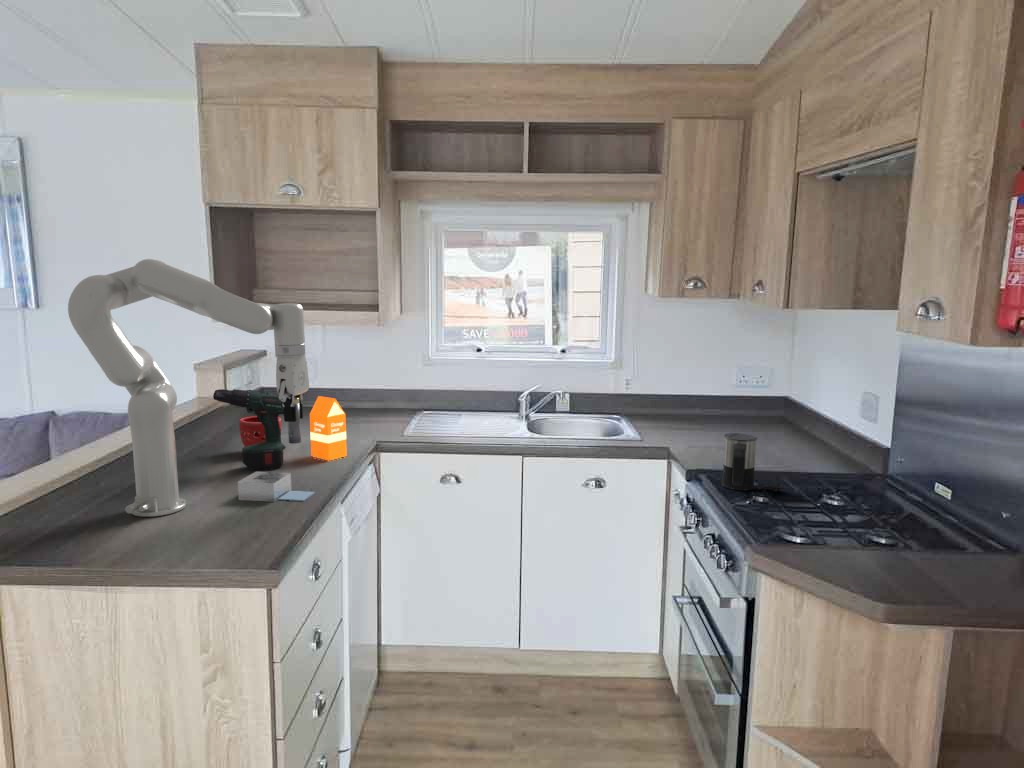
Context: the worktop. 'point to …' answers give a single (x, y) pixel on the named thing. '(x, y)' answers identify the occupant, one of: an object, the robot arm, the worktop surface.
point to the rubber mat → (296, 495)
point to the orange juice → (327, 429)
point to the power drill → (267, 414)
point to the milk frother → (741, 463)
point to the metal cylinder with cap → (295, 425)
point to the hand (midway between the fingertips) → (293, 419)
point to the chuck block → (264, 486)
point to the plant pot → (252, 431)
